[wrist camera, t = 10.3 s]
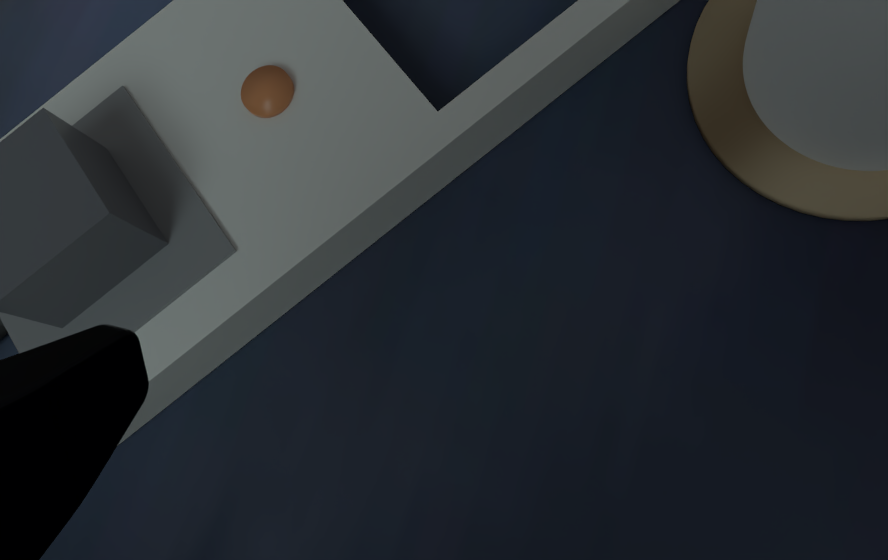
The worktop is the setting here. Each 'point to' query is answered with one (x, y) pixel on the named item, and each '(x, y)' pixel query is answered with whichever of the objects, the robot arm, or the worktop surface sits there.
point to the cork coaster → (765, 129)
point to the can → (822, 78)
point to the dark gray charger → (65, 222)
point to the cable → (2, 330)
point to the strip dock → (284, 158)
